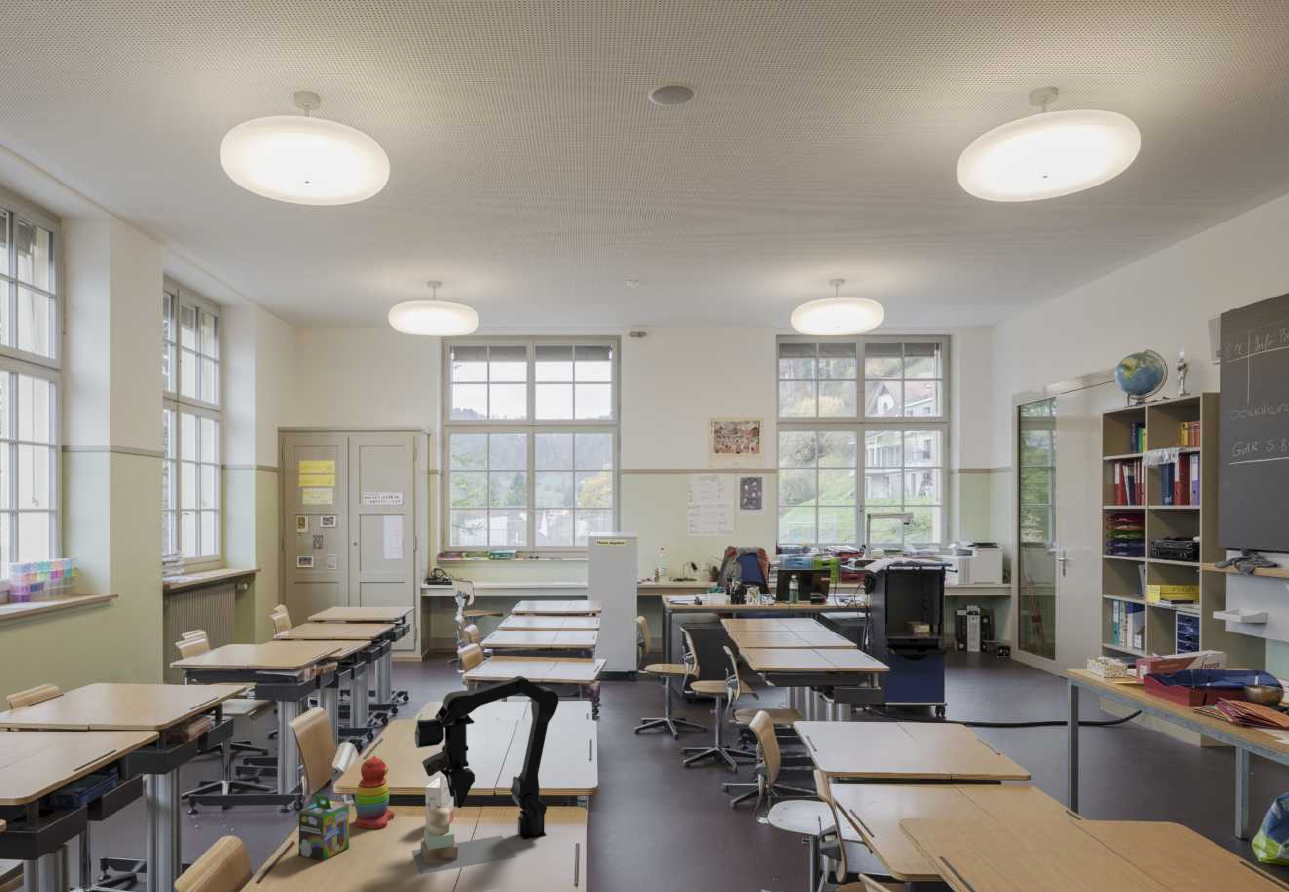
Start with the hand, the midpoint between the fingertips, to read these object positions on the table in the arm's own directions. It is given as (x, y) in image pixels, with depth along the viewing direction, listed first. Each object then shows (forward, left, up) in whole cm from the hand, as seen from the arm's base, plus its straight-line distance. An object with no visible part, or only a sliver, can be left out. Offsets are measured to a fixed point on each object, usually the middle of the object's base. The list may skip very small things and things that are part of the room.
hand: (456, 802), depth 217 cm
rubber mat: (-1, +5, -12) cm, 13 cm away
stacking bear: (+18, -29, -12) cm, 36 cm away
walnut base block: (+5, +3, -12) cm, 13 cm away
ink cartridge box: (+1, -19, -12) cm, 23 cm away
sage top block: (+5, +3, -9) cm, 10 cm away
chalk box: (+32, -13, -12) cm, 37 cm away
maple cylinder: (+5, +3, -6) cm, 8 cm away
